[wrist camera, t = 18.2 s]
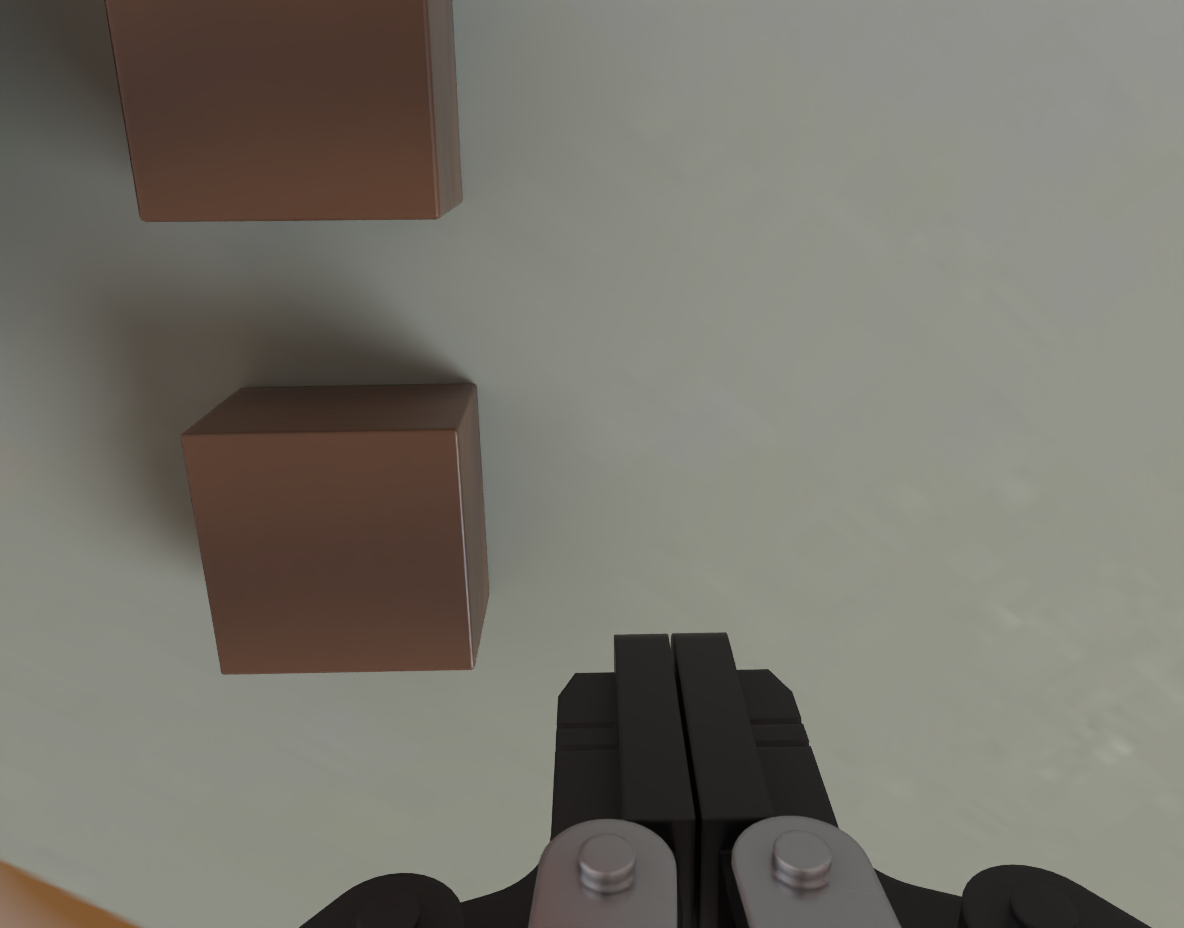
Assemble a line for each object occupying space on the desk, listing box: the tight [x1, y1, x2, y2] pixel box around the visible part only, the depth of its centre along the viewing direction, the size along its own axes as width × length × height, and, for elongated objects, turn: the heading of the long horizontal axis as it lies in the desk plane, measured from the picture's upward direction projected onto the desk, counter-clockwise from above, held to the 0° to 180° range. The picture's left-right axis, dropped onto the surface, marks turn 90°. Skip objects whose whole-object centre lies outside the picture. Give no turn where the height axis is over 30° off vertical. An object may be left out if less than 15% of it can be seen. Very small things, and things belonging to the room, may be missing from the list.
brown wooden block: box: [104, 0, 462, 222], centre depth 17 cm, size 5×5×3 cm
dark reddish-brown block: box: [181, 383, 489, 675], centre depth 20 cm, size 5×5×3 cm
